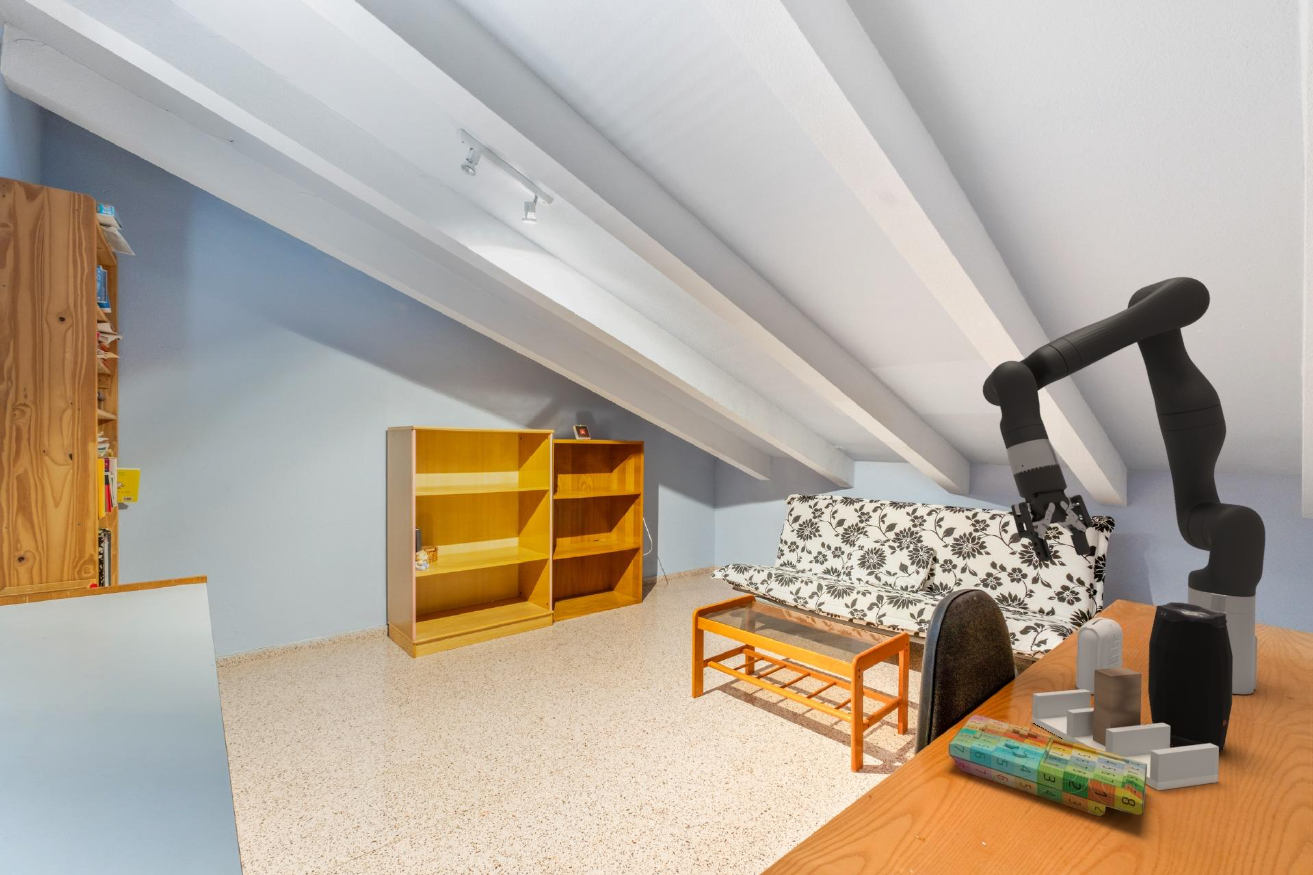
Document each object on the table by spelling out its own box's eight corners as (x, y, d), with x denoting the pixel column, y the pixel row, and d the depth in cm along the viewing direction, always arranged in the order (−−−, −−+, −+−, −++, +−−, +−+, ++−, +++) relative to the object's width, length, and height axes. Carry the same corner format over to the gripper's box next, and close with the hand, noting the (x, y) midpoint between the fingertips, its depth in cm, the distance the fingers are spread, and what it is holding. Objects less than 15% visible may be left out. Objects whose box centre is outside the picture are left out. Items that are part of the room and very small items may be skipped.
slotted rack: (1084, 717, 99) (1084, 689, 99) (1218, 782, 80) (1218, 747, 80) (1032, 722, 96) (1032, 693, 96) (1157, 790, 78) (1158, 754, 78)
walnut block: (1122, 736, 90) (1124, 667, 90) (1140, 744, 88) (1141, 673, 88) (1092, 740, 89) (1094, 669, 89) (1109, 748, 87) (1111, 676, 87)
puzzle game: (971, 708, 91) (1147, 756, 78) (970, 741, 90) (1146, 794, 78) (949, 736, 82) (1143, 795, 69) (948, 773, 81) (1142, 838, 69)
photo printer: (1097, 678, 116) (1099, 612, 116) (1125, 686, 113) (1126, 618, 113) (1072, 689, 110) (1073, 619, 110) (1099, 698, 107) (1101, 626, 107)
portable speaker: (1246, 758, 87) (1250, 617, 87) (1178, 756, 87) (1182, 615, 87) (1195, 729, 95) (1198, 601, 96) (1132, 727, 96) (1136, 599, 96)
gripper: (1020, 466, 108) (1051, 560, 103) (1083, 459, 112) (1115, 549, 108) (988, 477, 115) (1016, 566, 110) (1049, 470, 119) (1078, 555, 114)
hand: (1065, 557), depth 109 cm, fingers open, 8 cm apart
